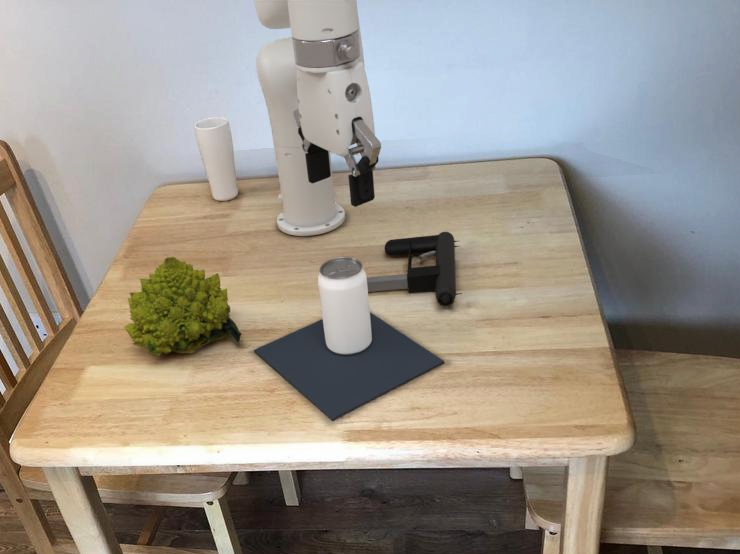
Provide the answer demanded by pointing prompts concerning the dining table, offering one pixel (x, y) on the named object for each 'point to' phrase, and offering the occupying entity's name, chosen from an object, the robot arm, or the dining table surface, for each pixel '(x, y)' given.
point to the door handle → (422, 277)
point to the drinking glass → (217, 156)
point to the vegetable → (179, 310)
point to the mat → (347, 366)
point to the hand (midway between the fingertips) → (340, 190)
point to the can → (345, 305)
